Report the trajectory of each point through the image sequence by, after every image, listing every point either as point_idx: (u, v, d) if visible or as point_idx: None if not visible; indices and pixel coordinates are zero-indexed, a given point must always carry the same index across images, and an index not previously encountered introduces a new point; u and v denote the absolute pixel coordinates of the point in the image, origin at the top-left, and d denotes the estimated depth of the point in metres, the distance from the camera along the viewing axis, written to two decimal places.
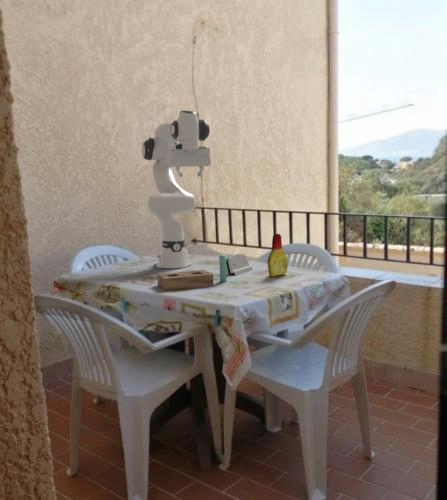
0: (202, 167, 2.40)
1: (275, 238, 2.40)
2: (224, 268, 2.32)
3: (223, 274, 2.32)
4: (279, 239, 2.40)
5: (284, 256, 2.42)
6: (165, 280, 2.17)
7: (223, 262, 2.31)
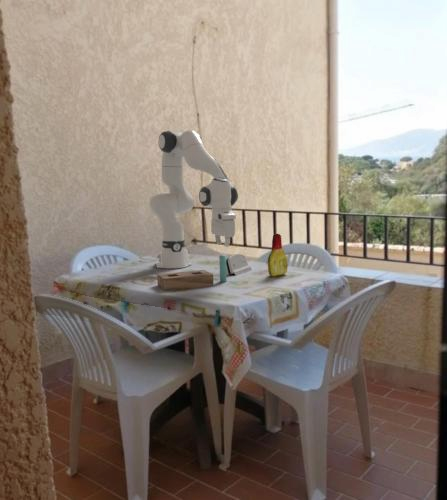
0: None
1: (275, 238, 2.40)
2: (224, 268, 2.32)
3: (223, 274, 2.32)
4: (279, 239, 2.40)
5: (284, 256, 2.42)
6: (165, 280, 2.17)
7: (223, 262, 2.31)
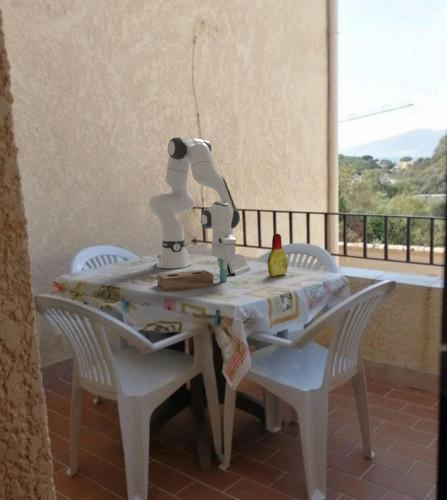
0: None
1: (275, 238, 2.40)
2: None
3: (223, 274, 2.32)
4: (279, 239, 2.40)
5: (284, 256, 2.42)
6: (165, 280, 2.17)
7: None
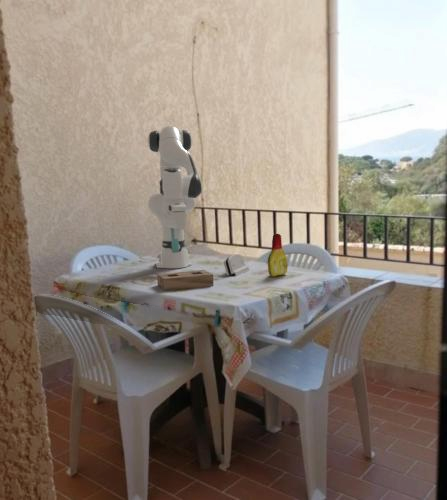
0: None
1: (275, 238, 2.40)
2: None
3: (174, 244, 2.21)
4: (279, 239, 2.40)
5: (284, 256, 2.42)
6: (165, 280, 2.17)
7: None
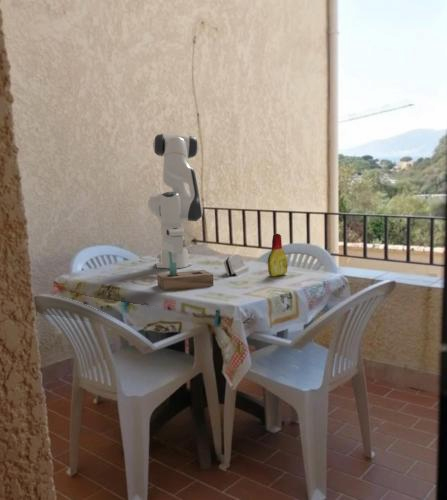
0: None
1: (275, 238, 2.40)
2: None
3: (172, 267, 2.22)
4: (279, 239, 2.40)
5: (284, 256, 2.42)
6: (165, 280, 2.17)
7: None
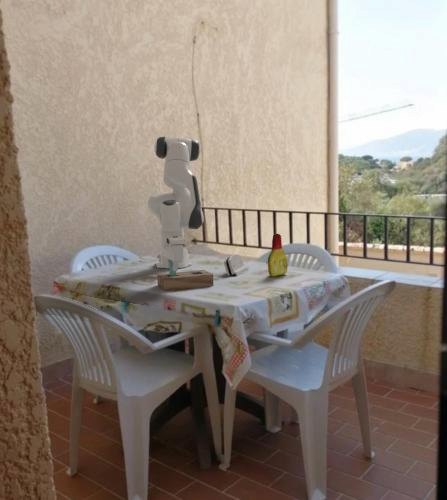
0: None
1: (275, 238, 2.40)
2: (174, 273, 2.23)
3: None
4: (279, 239, 2.40)
5: (284, 256, 2.42)
6: (165, 280, 2.17)
7: None
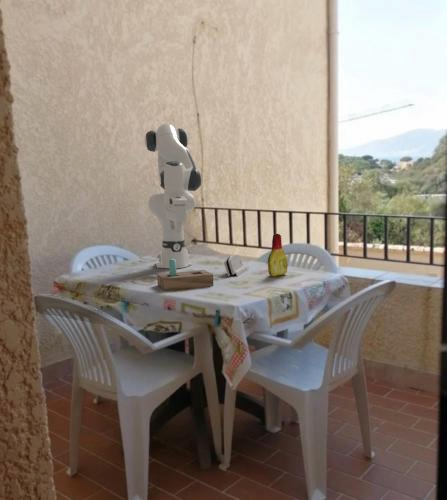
0: None
1: (275, 238, 2.40)
2: (174, 273, 2.23)
3: None
4: (279, 239, 2.40)
5: (284, 256, 2.42)
6: (165, 280, 2.17)
7: (173, 266, 2.22)
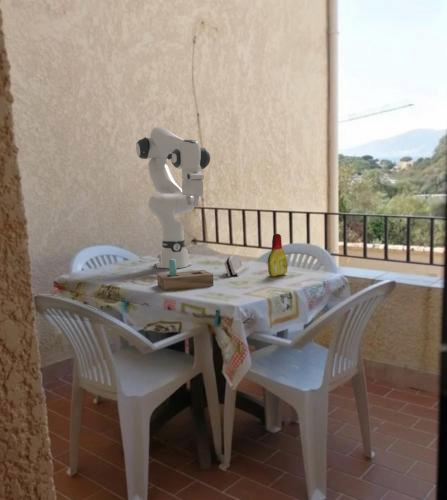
0: None
1: (275, 238, 2.40)
2: (174, 273, 2.23)
3: None
4: (279, 239, 2.40)
5: (284, 256, 2.42)
6: (165, 280, 2.17)
7: (173, 266, 2.22)
